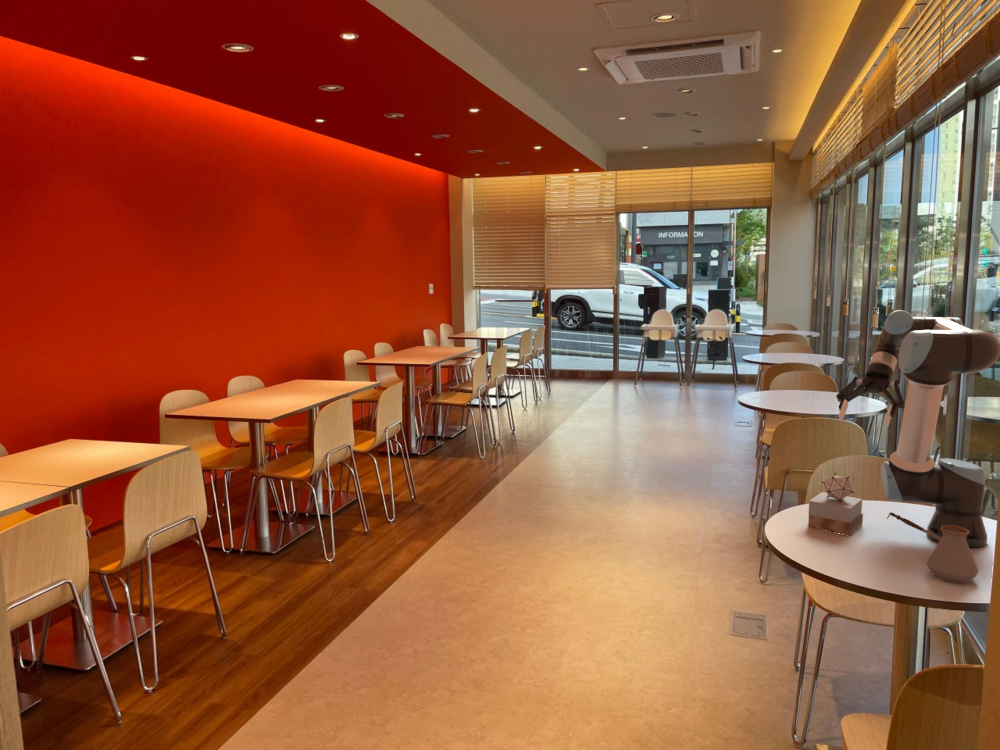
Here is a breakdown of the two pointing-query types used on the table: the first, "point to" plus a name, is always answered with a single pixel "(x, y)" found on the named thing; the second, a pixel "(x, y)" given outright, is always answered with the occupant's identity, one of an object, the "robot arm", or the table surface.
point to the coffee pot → (949, 554)
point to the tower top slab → (835, 507)
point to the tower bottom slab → (835, 524)
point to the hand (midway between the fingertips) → (862, 421)
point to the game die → (838, 487)
